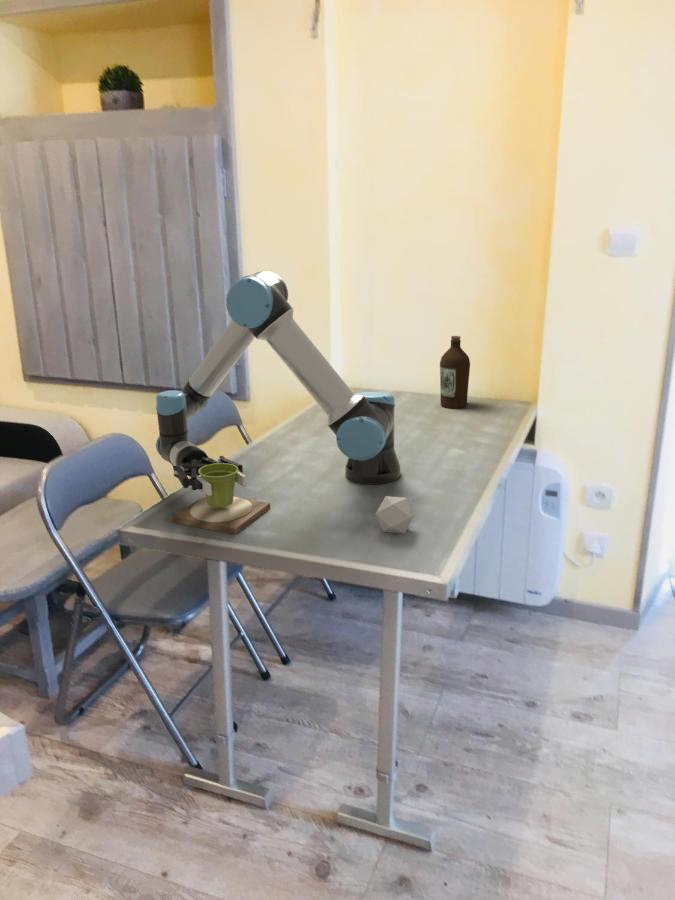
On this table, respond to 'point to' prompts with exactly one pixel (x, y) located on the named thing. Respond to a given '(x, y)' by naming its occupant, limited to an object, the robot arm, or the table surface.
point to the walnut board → (221, 514)
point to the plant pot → (220, 483)
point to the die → (395, 514)
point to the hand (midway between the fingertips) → (227, 485)
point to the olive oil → (454, 376)
